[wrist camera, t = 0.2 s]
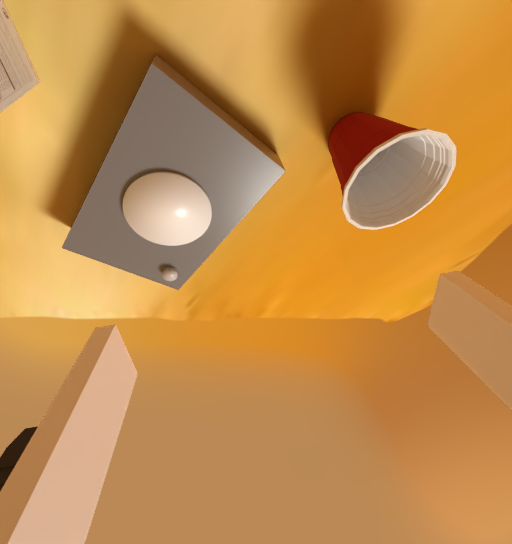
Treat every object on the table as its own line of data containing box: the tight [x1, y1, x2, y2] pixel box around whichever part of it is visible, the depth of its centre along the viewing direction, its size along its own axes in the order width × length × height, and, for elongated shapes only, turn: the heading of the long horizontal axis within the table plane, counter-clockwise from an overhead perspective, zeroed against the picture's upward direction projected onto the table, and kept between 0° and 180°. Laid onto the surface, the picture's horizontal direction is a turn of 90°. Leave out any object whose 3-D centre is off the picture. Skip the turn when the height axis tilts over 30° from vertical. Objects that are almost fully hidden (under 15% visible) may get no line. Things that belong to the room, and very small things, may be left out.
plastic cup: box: [329, 112, 456, 230], centre depth 31 cm, size 11×11×12 cm
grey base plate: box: [62, 54, 285, 290], centre depth 35 cm, size 24×16×5 cm, turn 140°
